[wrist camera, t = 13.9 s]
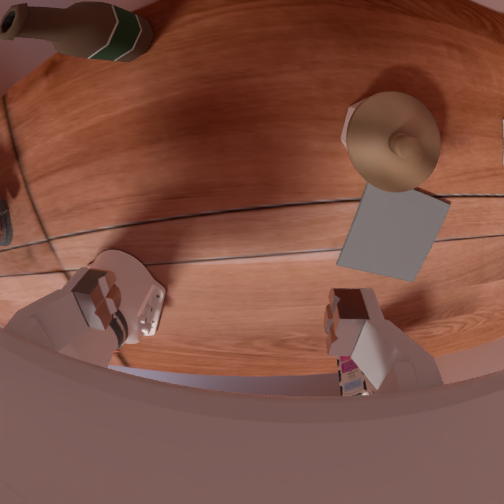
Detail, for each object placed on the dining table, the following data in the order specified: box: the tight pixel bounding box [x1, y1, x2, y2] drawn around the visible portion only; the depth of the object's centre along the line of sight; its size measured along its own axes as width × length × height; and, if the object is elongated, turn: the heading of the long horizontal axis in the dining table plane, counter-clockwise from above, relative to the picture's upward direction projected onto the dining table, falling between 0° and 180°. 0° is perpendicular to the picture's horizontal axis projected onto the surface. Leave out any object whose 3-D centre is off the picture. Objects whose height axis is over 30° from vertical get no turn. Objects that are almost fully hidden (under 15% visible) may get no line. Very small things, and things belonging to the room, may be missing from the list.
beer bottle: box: [0, 2, 154, 62], centre depth 18 cm, size 8×8×24 cm
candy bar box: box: [336, 356, 377, 396], centre depth 48 cm, size 11×5×16 cm, turn 36°
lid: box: [346, 91, 441, 193], centre depth 27 cm, size 13×13×6 cm
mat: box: [336, 182, 450, 282], centre depth 41 cm, size 16×16×1 cm
